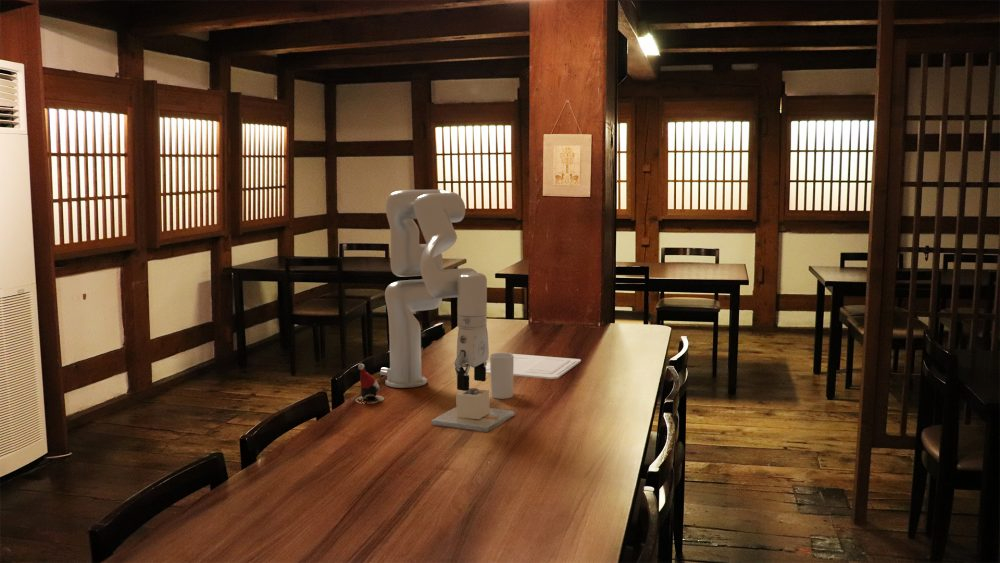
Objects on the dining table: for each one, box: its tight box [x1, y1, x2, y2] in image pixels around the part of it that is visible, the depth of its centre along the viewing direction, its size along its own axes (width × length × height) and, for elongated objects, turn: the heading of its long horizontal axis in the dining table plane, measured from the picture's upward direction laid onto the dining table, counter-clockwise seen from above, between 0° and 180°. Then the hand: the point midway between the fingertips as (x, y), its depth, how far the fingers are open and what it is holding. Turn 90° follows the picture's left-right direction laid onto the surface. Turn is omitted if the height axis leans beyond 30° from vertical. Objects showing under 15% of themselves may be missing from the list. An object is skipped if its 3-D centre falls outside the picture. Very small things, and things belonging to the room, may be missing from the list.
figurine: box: [354, 363, 385, 405], centre depth 242 cm, size 8×10×12 cm
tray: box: [485, 353, 582, 380], centre depth 283 cm, size 28×28×2 cm
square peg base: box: [431, 387, 515, 433], centre depth 222 cm, size 16×16×8 cm
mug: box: [489, 352, 514, 400], centre depth 247 cm, size 10×7×12 cm, turn 158°
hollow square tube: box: [455, 389, 491, 419], centre depth 222 cm, size 6×6×6 cm
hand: (471, 385), depth 222 cm, fingers open, 9 cm apart
